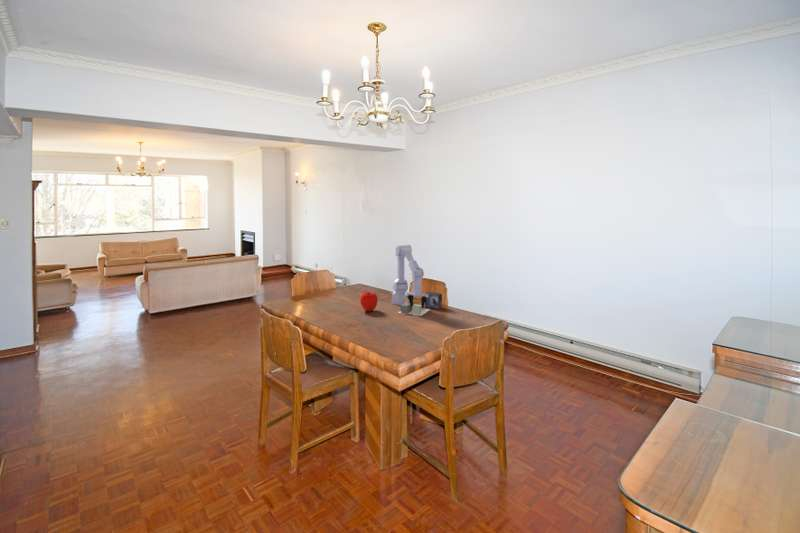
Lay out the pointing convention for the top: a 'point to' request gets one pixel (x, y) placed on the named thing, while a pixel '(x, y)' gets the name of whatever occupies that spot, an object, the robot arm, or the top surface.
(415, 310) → the sage block
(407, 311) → the charcoal block
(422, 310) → the grey mat
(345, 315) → the top surface
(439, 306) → the picture frame
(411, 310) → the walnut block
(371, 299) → the apple
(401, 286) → the robot arm
